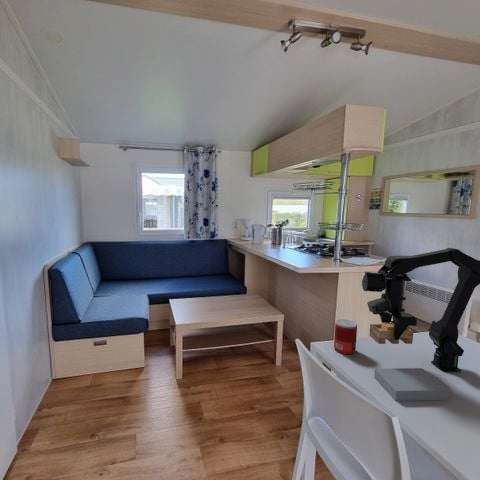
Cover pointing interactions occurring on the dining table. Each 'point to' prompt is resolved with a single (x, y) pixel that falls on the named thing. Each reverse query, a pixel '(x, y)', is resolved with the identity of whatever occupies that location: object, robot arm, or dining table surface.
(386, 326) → the block
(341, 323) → the canned food
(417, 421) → the dining table surface
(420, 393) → the dock
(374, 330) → the shallow cardboard tray
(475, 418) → the dining table surface
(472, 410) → the dining table surface
